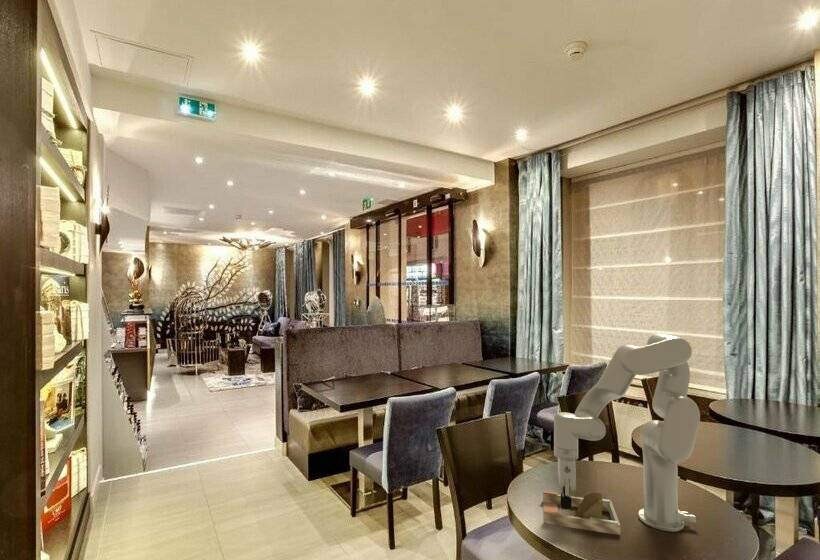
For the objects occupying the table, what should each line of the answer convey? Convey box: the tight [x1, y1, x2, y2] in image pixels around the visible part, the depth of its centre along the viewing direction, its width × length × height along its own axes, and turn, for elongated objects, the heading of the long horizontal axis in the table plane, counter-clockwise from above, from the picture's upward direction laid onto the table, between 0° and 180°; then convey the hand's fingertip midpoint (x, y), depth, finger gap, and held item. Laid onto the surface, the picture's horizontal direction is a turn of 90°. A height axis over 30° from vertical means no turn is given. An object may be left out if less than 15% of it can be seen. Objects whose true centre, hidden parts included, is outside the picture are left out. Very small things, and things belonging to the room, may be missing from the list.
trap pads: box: [542, 490, 560, 516], centre depth 141 cm, size 5×15×4 cm, turn 164°
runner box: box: [542, 493, 621, 536], centre depth 138 cm, size 22×15×4 cm
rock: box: [573, 492, 604, 519], centre depth 136 cm, size 11×9×10 cm
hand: (566, 507), depth 139 cm, fingers closed
